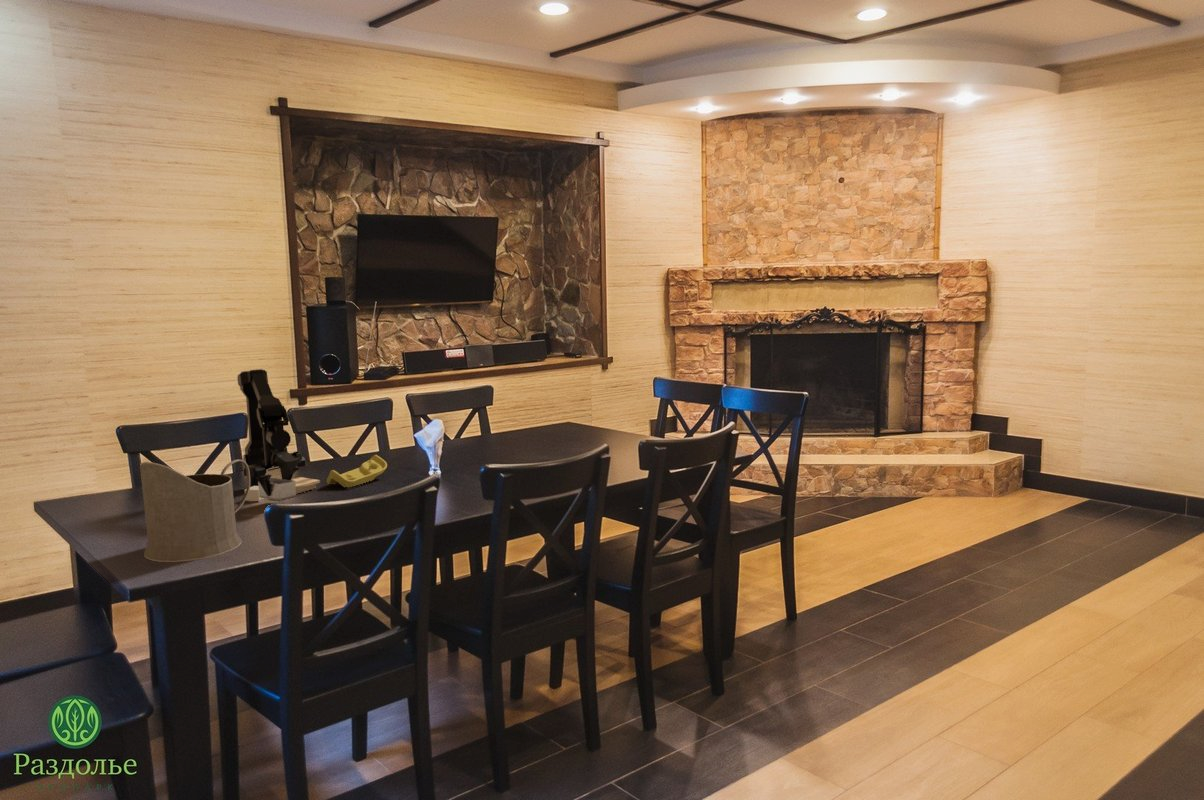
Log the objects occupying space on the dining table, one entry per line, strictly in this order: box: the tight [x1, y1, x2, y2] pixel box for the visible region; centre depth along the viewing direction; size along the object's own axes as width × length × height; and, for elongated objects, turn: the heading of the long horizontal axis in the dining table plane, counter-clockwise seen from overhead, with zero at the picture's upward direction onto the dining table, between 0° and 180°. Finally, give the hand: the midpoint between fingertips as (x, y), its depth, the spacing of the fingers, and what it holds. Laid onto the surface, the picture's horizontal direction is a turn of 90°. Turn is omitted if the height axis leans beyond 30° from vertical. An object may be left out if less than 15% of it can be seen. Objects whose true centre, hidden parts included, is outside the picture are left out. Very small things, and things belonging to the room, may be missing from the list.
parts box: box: [243, 486, 264, 500], centre depth 285 cm, size 5×5×4 cm
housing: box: [258, 476, 297, 502], centre depth 277 cm, size 10×6×5 cm, turn 56°
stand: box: [291, 476, 321, 493], centre depth 294 cm, size 10×14×3 cm
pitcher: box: [139, 458, 250, 563], centre depth 238 cm, size 23×32×25 cm
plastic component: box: [326, 454, 388, 488], centre depth 306 cm, size 20×7×10 cm
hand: (277, 493), depth 277 cm, fingers closed on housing, 6 cm apart
